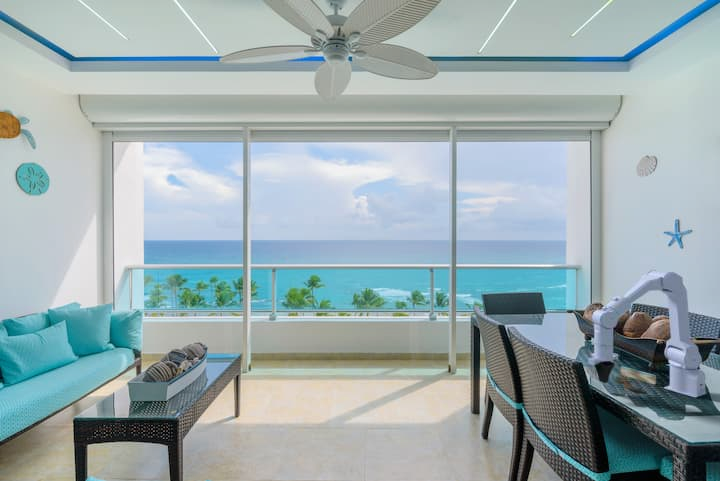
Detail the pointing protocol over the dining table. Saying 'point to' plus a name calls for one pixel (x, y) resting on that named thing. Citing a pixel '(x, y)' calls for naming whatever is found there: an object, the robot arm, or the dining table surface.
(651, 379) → the stop rail
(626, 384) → the seahorse
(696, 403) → the dining table surface
